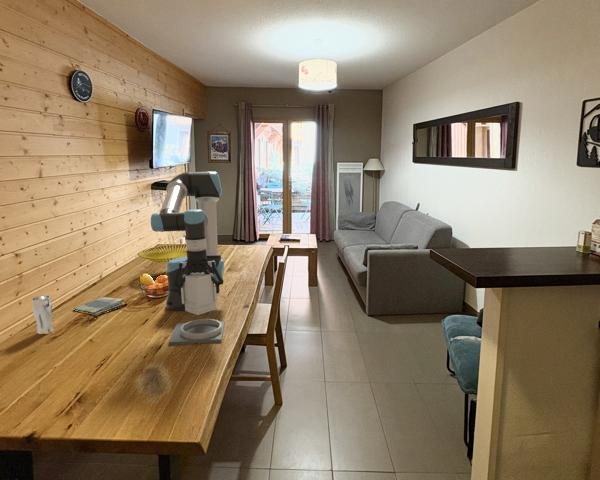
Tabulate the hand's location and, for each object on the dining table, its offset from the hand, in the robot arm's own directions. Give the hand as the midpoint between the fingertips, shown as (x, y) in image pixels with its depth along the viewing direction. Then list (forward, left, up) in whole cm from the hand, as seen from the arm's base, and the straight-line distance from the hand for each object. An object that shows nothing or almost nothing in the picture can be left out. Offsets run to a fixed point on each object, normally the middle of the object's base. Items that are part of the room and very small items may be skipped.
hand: (199, 302), depth 176 cm
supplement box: (0, 0, -4) cm, 4 cm away
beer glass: (-66, +11, -14) cm, 68 cm away
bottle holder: (-1, 0, -13) cm, 14 cm away
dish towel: (-53, +39, -14) cm, 67 cm away
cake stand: (-28, +94, -14) cm, 99 cm away
